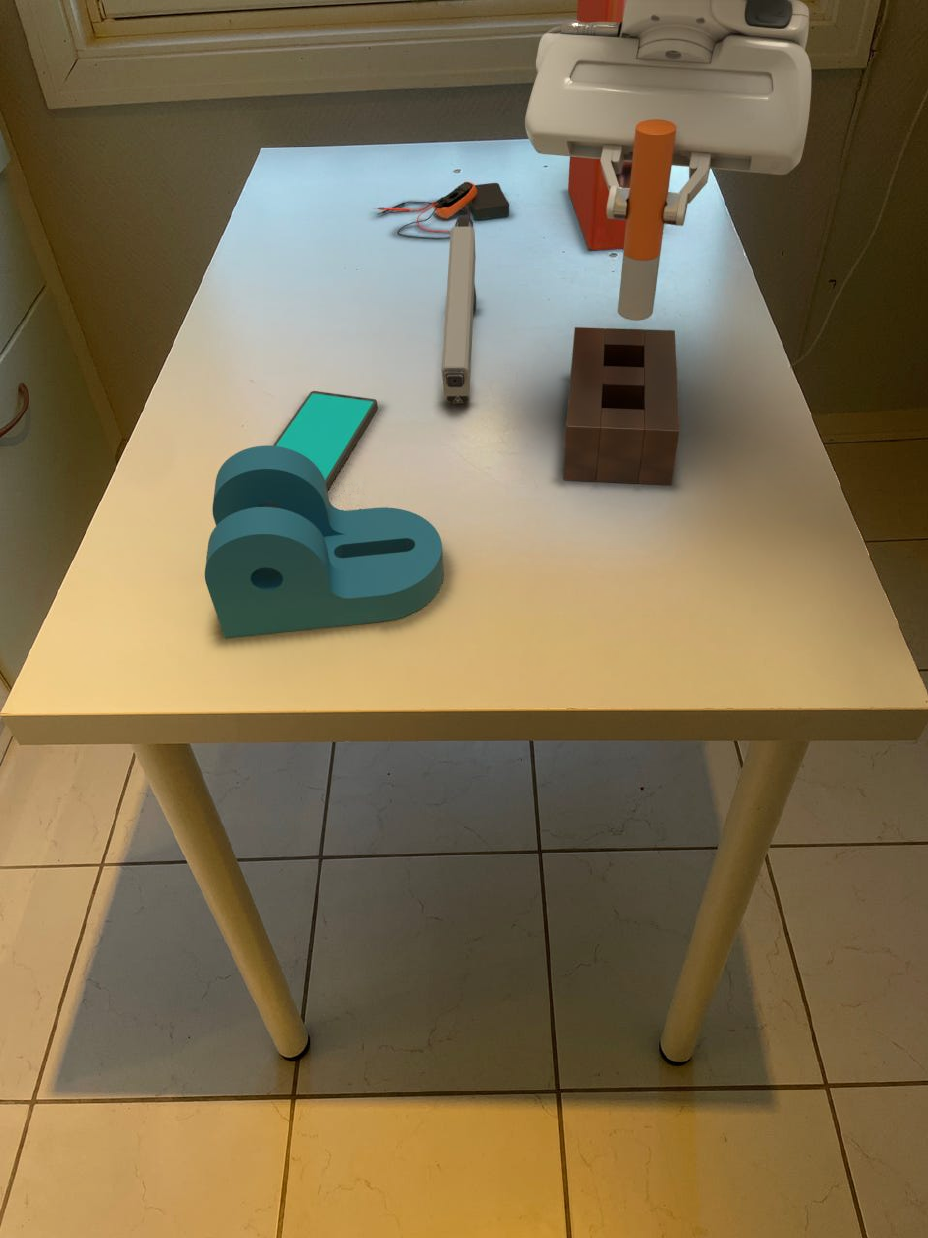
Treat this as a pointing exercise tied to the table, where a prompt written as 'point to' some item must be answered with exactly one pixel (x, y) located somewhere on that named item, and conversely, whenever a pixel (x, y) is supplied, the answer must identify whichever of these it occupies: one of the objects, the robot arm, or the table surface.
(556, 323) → the table surface
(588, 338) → the pen stand
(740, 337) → the table surface
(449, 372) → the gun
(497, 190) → the multimeter
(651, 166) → the orange cylinder rod
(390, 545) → the camera mount
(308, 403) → the smartphone
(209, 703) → the table surface
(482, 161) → the table surface
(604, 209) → the file binder
